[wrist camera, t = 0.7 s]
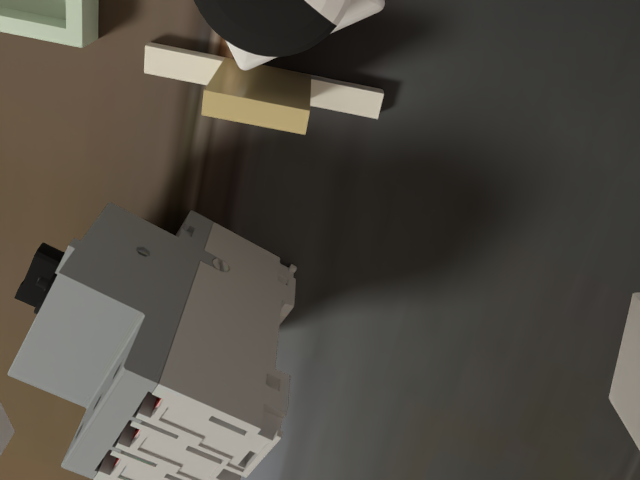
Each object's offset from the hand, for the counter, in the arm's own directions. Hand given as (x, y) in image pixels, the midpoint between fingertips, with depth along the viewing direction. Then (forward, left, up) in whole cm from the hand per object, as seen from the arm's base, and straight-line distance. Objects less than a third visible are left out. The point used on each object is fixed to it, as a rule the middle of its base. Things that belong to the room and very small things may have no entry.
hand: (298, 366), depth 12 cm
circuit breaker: (-6, -14, -25) cm, 29 cm away
